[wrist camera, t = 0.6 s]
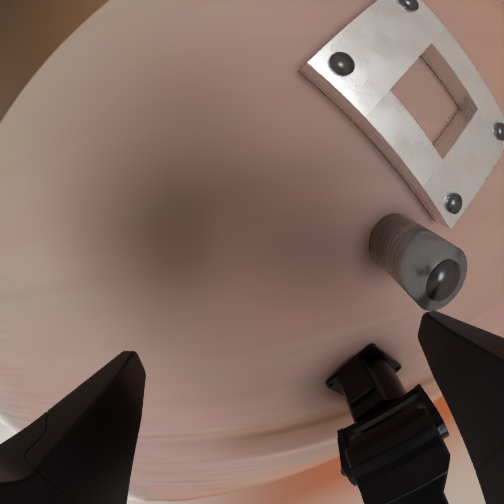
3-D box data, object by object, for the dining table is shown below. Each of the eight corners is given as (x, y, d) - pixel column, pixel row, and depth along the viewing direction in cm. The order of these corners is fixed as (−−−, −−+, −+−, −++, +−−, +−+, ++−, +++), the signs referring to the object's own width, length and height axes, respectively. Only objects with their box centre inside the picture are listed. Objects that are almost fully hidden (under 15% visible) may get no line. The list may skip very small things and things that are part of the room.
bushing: (422, 237, 21) (476, 274, 14) (388, 274, 22) (434, 323, 15) (395, 202, 20) (453, 232, 13) (358, 243, 21) (405, 289, 14)
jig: (494, 132, 17) (513, 135, 15) (433, 220, 20) (452, 230, 18) (387, -8, 13) (403, -20, 10) (298, 71, 16) (308, 61, 13)
